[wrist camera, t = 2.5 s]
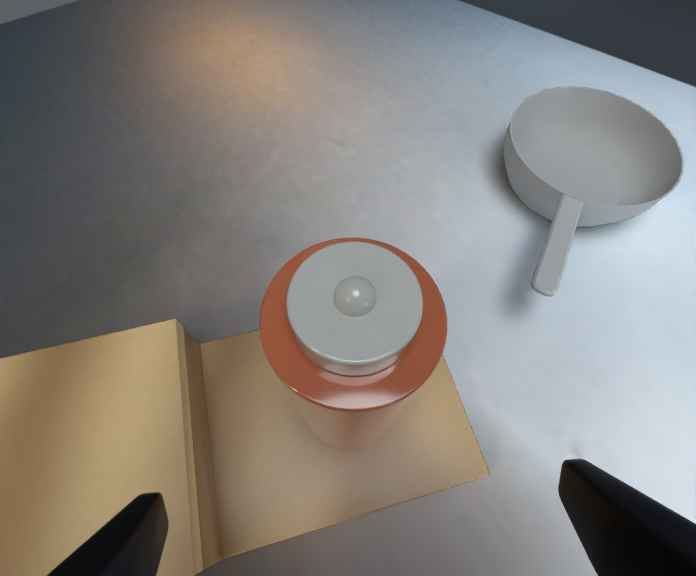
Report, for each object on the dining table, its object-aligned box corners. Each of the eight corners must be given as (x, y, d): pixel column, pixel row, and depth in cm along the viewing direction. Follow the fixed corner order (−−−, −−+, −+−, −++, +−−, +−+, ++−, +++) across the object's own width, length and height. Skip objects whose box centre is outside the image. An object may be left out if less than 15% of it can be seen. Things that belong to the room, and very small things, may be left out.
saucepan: (655, 158, 29) (697, 114, 26) (606, 363, 22) (655, 340, 18) (517, 110, 31) (538, 64, 28) (429, 281, 24) (444, 247, 21)
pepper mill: (373, 470, 18) (423, 441, 7) (283, 426, 19) (201, 338, 8) (408, 377, 20) (489, 242, 9) (325, 341, 21) (307, 178, 10)
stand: (415, 298, 24) (430, 259, 20) (484, 475, 19) (521, 471, 15) (-17, 403, 20) (-105, 382, 16) (-54, 644, 16) (-187, 696, 12)
